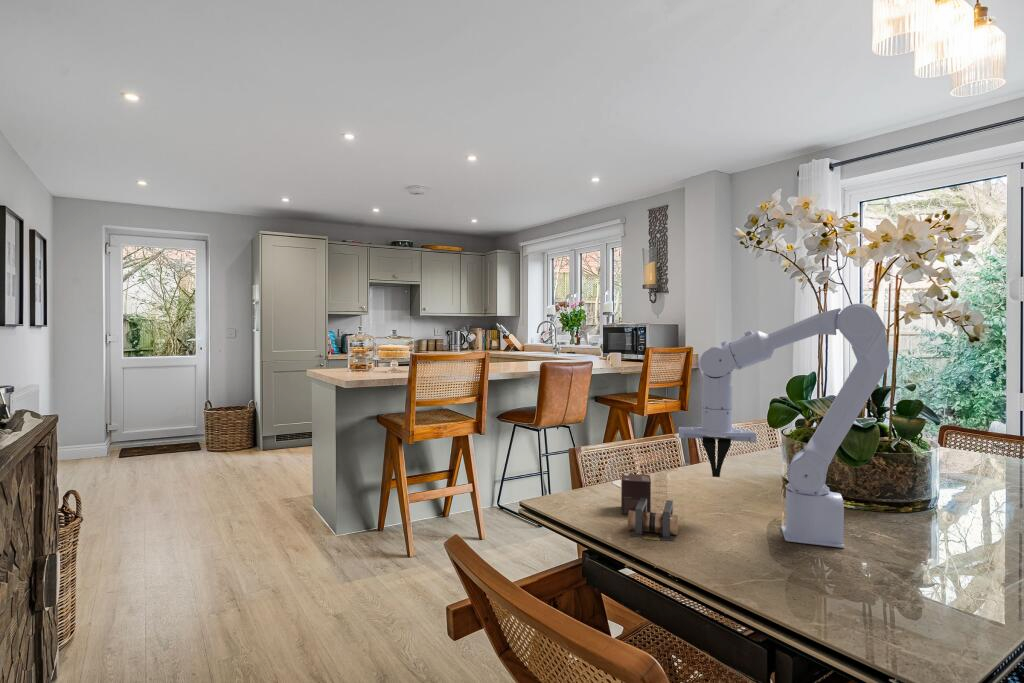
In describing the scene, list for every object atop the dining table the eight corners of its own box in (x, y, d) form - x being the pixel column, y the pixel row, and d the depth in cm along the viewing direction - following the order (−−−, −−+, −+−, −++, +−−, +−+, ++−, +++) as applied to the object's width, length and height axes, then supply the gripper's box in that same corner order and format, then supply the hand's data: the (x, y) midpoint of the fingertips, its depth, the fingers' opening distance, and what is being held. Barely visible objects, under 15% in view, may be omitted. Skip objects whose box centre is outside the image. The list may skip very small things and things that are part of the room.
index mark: (660, 539, 107) (660, 537, 107) (659, 540, 106) (659, 539, 106) (643, 537, 108) (643, 535, 108) (643, 538, 107) (643, 536, 107)
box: (650, 517, 120) (651, 481, 120) (621, 515, 121) (621, 479, 121) (649, 508, 126) (650, 474, 126) (621, 506, 127) (621, 473, 127)
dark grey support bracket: (677, 525, 115) (677, 500, 115) (674, 541, 106) (674, 513, 106) (662, 523, 116) (662, 498, 116) (657, 539, 107) (657, 511, 107)
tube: (678, 525, 112) (677, 511, 110) (677, 539, 109) (676, 525, 107) (630, 519, 115) (629, 506, 113) (628, 533, 112) (627, 519, 110)
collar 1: (651, 522, 116) (651, 497, 116) (646, 537, 108) (646, 510, 108) (636, 520, 117) (636, 496, 117) (629, 535, 109) (630, 509, 109)
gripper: (755, 407, 117) (754, 474, 118) (680, 403, 122) (679, 468, 123) (757, 411, 111) (756, 482, 111) (678, 407, 116) (677, 476, 116)
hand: (716, 475), depth 116 cm, fingers closed
